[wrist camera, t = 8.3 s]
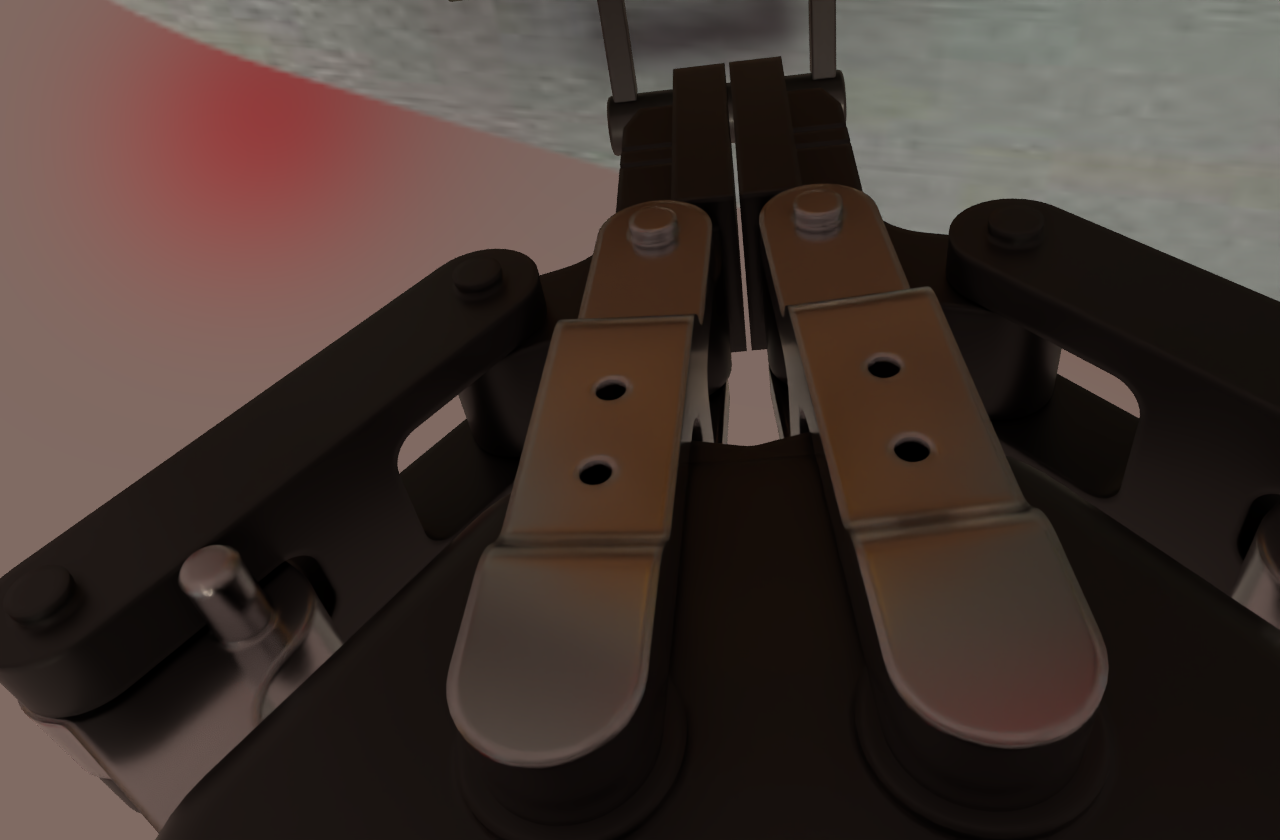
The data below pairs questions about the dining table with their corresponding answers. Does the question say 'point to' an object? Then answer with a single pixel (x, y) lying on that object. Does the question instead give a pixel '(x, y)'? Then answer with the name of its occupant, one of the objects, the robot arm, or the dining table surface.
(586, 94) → the dining table surface
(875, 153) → the dining table surface
